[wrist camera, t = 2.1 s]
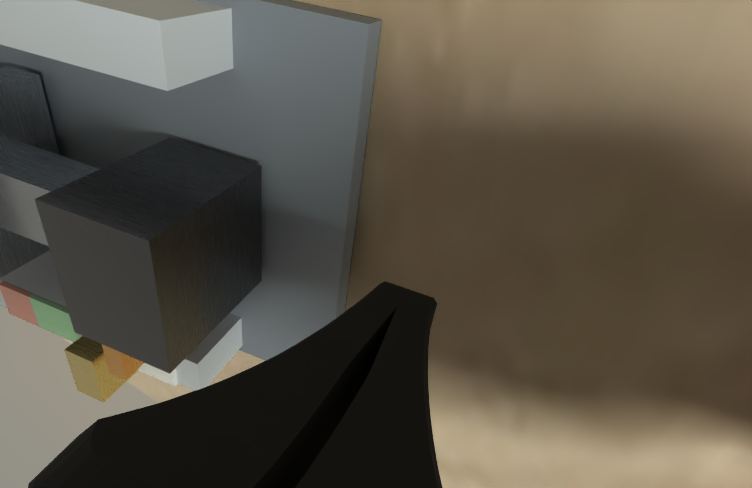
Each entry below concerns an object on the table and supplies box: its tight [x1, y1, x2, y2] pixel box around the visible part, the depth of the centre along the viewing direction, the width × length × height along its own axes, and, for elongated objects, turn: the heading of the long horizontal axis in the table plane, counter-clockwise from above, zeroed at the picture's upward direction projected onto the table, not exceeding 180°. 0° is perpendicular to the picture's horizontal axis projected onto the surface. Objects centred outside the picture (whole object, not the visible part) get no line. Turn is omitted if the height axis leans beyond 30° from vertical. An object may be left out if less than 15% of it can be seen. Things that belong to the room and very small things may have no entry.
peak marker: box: [65, 336, 138, 402], centre depth 15 cm, size 1×2×1 cm, turn 171°
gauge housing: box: [0, 0, 382, 391], centre depth 15 cm, size 15×12×3 cm
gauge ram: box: [0, 66, 262, 380], centre depth 14 cm, size 9×7×4 cm
